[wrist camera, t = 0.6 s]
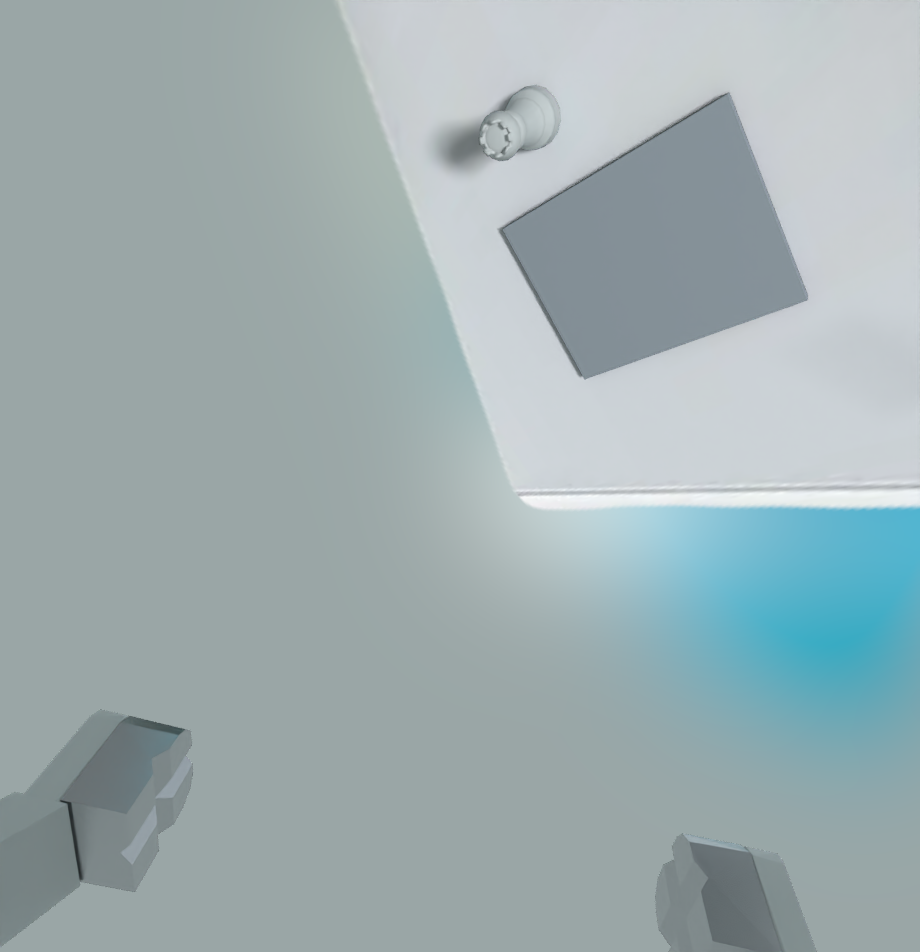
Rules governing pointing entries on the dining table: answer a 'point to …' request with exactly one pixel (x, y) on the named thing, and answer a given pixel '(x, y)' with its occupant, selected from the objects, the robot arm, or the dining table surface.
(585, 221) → the mat
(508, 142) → the rook chess piece
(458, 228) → the dining table surface
